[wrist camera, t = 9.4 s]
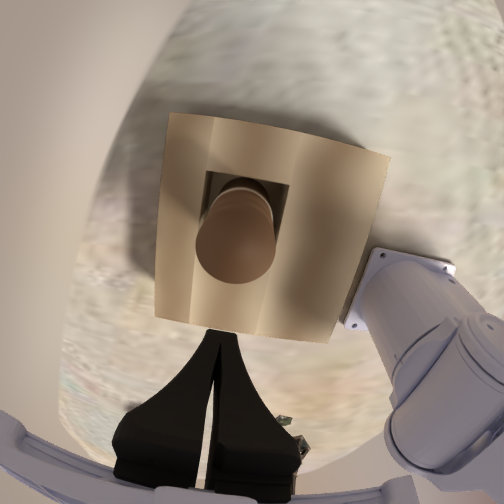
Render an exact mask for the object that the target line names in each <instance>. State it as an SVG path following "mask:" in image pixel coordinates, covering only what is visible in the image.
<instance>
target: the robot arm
mask: <svg viewBox="0 0 504 504" xmlns="http://www.w3.org/2000/svg"><path fill="white" fill-rule="evenodd" d="M382 253H384V255H383V256H382V257H380V255H381V254H382ZM444 267H445V268H444ZM443 268H444V269H443ZM455 271H456V266H455V265H454V264H451V263H447V262H443V261H439V260H434V259H430V258H425V257H421V256H416V255H412V254H407V253H403V252H398V251H394V250H389V249H384V248H379V247H376V248H374V249H373V250H372V251H371V254H370V256H369V259H368V262H367V265H366V268H365V270H364V273H363V276H362V278H361V281H360V284H359V286H358V289H357V291H356V294H355V296H354V299H353V301H352V304H351V306H350V309H349V311H348V314H347V316H346V318H345V321H344V327H345V329H349V330H360V331H369V332H370V335H371V337H372V339H373V341H374V344H375V346H376V348H377V350H378V353H379V355H380V357H381V360H382V362H383V364H384V367H385V369H386V371H387V374H388V376H389V379H390V381H391V383H392V386H393V392H392V394H391V395H390V397H389V399H390V401H391V404H392V407H393V410H394V411H392V413H391V414H390V415H389V416H388V418H387V420H386V423H385V426H384V439H385V443H386V446H387V448H388V450H389V452H390V454H391V456H392V457H393V459H394V460H395V461H396V462H397V463H398V464H399V465H400V466H401V467H403V468H404V469H405V470H407V471H409V472H411V473H414V474H417V475H420V476H422V477H424V478H426V479H428V480H429V481H430V482H432V483H433V484H434V485H435V486H436V487H437V488H438V489H439V490H440V491H443V492H461V491H480V490H482V491H485V492H486V493H487V494H488V495H489V496H490V497H491V498H492V499H493V500H494V501H496V503H498V504H504V321H503V320H501V319H499V318H498V317H496V316H494V315H492V314H489V313H486V311H485V309H484V308H483V307H482V306H481V305H480V304H479V303H478V301H477V300H476V299H475V298H474V297H473V296H472V295H471V294H470V293H469V292H468V291H467V290H466V289H465V288H464V287H463V286H462V285H461V284H460V283H459V282H458V281H457V280H456V279H455V278H454V277H453V275H454V273H455ZM353 324H355V325H353ZM213 381H214V393H213V423H212V432H211V440H210V447H209V455H208V463H207V471H206V479H205V487H204V489H199V488H195V484H196V478H197V473H198V467H199V462H200V456H201V449H202V441H203V433H204V425H205V417H206V409H207V404H208V401H209V397H210V393H211V389H212V385H213ZM112 446H113V449H114V451H115V453H116V456H117V460H116V464H115V467H114V468H112V467H109V466H106V465H103V464H100V463H97V462H94V461H92V460H89V459H86V458H84V457H81V456H78V455H76V454H74V453H71V452H69V451H67V450H65V449H63V448H60V447H58V446H56V445H54V444H52V443H50V442H48V441H45V440H43V439H41V438H40V437H38V436H36V435H34V434H32V433H30V432H28V431H27V430H26V428H25V427H24V425H23V424H22V423H21V422H20V421H18V420H17V419H16V418H14V417H12V416H11V415H9V414H7V413H5V412H4V411H2V410H0V468H1V469H2V470H3V471H5V472H6V473H8V474H9V475H11V476H12V477H14V478H16V479H17V480H19V481H20V482H22V483H24V484H25V485H27V486H29V487H30V488H32V489H34V490H36V491H37V492H39V493H41V494H43V495H44V496H46V497H48V498H50V499H52V500H54V501H56V502H58V503H59V504H420V503H419V500H418V496H417V492H416V489H415V486H414V482H413V479H412V476H411V475H407V476H403V477H398V478H394V479H390V480H388V481H386V482H385V483H383V484H382V485H381V486H379V487H373V488H367V489H360V490H353V491H346V492H336V493H325V494H307V495H291V486H290V485H291V484H292V475H293V474H294V473H295V471H296V470H297V469H298V468H299V467H300V465H301V455H300V451H299V448H298V445H297V442H296V440H295V439H294V438H293V437H292V436H291V435H290V434H289V433H288V432H287V431H286V430H285V429H284V428H283V427H282V426H281V425H280V424H279V422H278V421H277V420H276V419H275V418H274V416H273V415H272V414H271V412H270V411H269V410H268V408H267V407H266V406H265V404H264V403H263V401H262V399H261V398H260V396H259V395H258V393H257V391H256V389H255V387H254V385H253V383H252V381H251V379H250V377H249V375H248V372H247V370H246V367H245V365H244V362H243V359H242V356H241V353H240V349H239V345H238V340H237V335H236V334H235V333H230V332H224V331H218V330H213V329H208V330H207V331H206V334H205V336H204V338H203V340H202V342H201V344H200V345H199V347H198V349H197V350H196V351H195V353H194V354H193V356H192V357H191V359H190V360H189V361H188V362H187V364H186V365H185V366H184V367H183V369H182V370H181V371H180V372H179V373H178V374H177V375H176V376H175V377H174V378H173V379H172V380H171V381H170V382H169V383H168V384H167V385H166V386H165V387H164V388H163V389H162V390H160V391H159V392H158V393H157V394H155V395H154V396H153V397H151V398H150V399H149V400H147V401H146V402H144V403H143V404H141V405H140V406H138V407H136V408H135V409H133V410H131V411H129V412H128V413H126V415H125V416H124V417H123V419H122V420H121V422H120V423H119V425H118V427H117V429H116V431H115V434H114V436H113V439H112Z"/></svg>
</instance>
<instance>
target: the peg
mask: <svg viewBox="0 0 504 504" xmlns="http://www.w3.org/2000/svg"><path fill="white" fill-rule="evenodd" d="M195 249H196V255H197V258H198V260H199V263H200V264H201V266H202V267H203V269H204V270H205V271H206V272H207V273H208V274H209V275H211V276H212V277H214V278H215V279H217V280H219V281H222V282H225V283H229V284H244V283H248V282H251V281H254V280H256V279H258V278H260V277H261V276H262V275H263V274H265V273H266V272H267V270H268V269H269V268H270V266H271V265H272V263H273V260H274V257H275V253H276V244H275V236H274V229H273V216H272V210H271V207H270V201H269V196H268V193H267V191H266V189H265V188H264V187H263V185H262V184H260V183H259V182H258V181H256V180H254V179H251V178H247V177H240V178H235V179H233V180H231V181H229V182H227V183H226V184H225V185H224V186H223V188H222V189H221V191H220V192H219V194H218V196H217V198H216V199H215V200H214V202H213V203H212V205H211V207H210V210H209V213H208V215H207V216H206V218H205V220H204V222H203V224H202V226H201V228H200V230H199V232H198V234H197V237H196V242H195Z"/></svg>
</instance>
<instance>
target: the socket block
mask: <svg viewBox="0 0 504 504" xmlns="http://www.w3.org/2000/svg"><path fill="white" fill-rule="evenodd" d="M390 158H391V157H388V156H385V155H382V154H379V153H376V152H373V151H370V150H366V149H363V148H360V147H356V146H353V145H349V144H346V143H342V142H338V141H335V140H331V139H327V138H323V137H319V136H315V135H311V134H306V133H302V132H298V131H293V130H289V129H284V128H279V127H274V126H269V125H263V124H258V123H252V122H246V121H240V120H234V119H227V118H220V117H213V116H205V115H196V114H186V113H176V112H170V114H169V120H168V127H167V134H166V141H165V149H164V157H163V165H162V174H161V184H160V195H159V207H158V221H157V237H156V259H155V317H158V318H163V319H168V320H173V321H178V322H183V323H188V324H193V325H198V326H204V327H209V328H215V329H221V330H227V331H233V332H239V333H246V334H252V335H259V336H266V337H274V338H281V339H289V340H298V341H307V342H316V343H326V344H327V343H328V341H329V339H330V336H331V334H332V332H333V329H334V327H335V325H336V322H337V320H338V317H339V315H340V313H341V310H342V308H343V305H344V302H345V300H346V297H347V295H348V292H349V290H350V287H351V284H352V282H353V279H354V276H355V273H356V271H357V268H358V265H359V262H360V259H361V256H362V254H363V251H364V248H365V245H366V242H367V239H368V235H369V232H370V229H371V226H372V223H373V220H374V216H375V213H376V210H377V206H378V203H379V199H380V196H381V192H382V189H383V185H384V181H385V178H386V174H387V170H388V166H389V162H390ZM240 177H247V178H251V179H254V180H256V181H258V182H259V183H260V184H262V185H263V187H264V188H265V189H266V191H267V193H268V196H269V201H270V207H271V210H272V216H273V229H274V236H275V244H276V253H275V257H274V260H273V263H272V265H271V266H270V268H269V269H268V270H267V272H266V273H265V274H263V275H262V276H261V277H260V278H258V279H256V280H254V281H251V282H248V283H244V284H229V283H225V282H222V281H219V280H217V279H215V278H214V277H212V276H211V275H209V274H208V273H207V272H206V271H205V270H204V269H203V267H202V266H201V264H200V263H199V260H198V258H197V255H196V249H195V242H196V237H197V234H198V232H199V230H200V228H201V226H202V224H203V222H204V220H205V218H206V216H207V215H208V213H209V210H210V207H211V205H212V203H213V202H214V200H215V199H216V198H217V196H218V194H219V192H220V191H221V189H222V188H223V186H224V185H225V184H226V183H227V182H229V181H231V180H233V179H235V178H240Z"/></svg>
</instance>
